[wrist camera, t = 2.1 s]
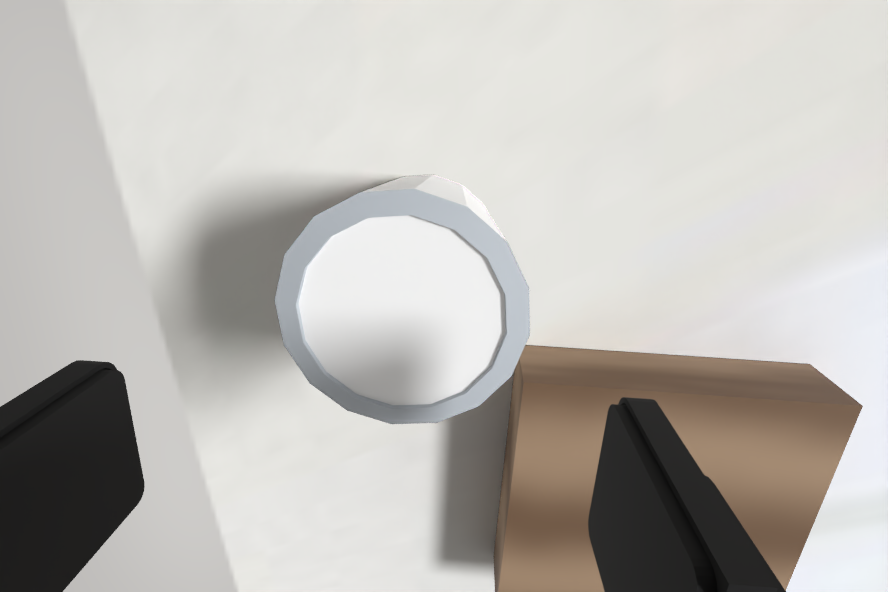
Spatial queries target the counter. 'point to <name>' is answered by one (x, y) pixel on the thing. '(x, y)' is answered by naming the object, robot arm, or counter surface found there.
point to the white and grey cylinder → (404, 302)
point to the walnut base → (699, 427)
